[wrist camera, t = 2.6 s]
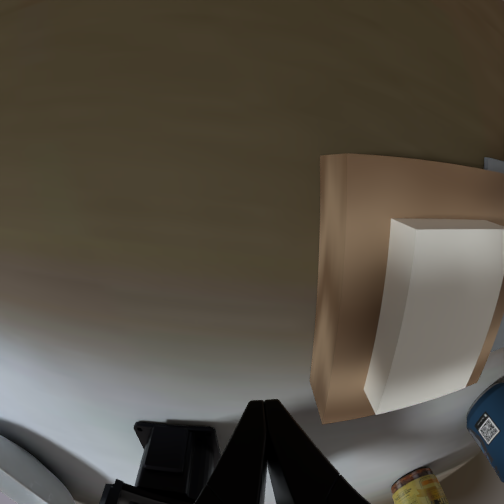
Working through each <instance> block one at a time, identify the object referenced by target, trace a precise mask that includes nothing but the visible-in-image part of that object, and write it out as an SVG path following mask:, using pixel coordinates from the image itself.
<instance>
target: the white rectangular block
mask: <svg viewBox="0 0 504 504" xmlns="http://www.w3.org/2000/svg"><path fill="white" fill-rule="evenodd" d="M503 276H504V226H501V225H498V224H495V223H493V222H490V221H487V220H469V219H404V218H391V226H390V239H389V250H388V260H387V268H386V277H385V284H384V291H383V298H382V304H381V310H380V316H379V322H378V327H377V333H376V338H375V343H374V348H373V352H372V357H371V361H370V366H369V370H368V374H367V378H366V382H365V386H364V391H365V393H366V395H367V398H368V400H369V402H370V404H371V406H372V408H373V410H374V412H375V414H376V415H378V414H382V413H386V412H390V411H394V410H398V409H402V408H405V407H409V406H412V405H416V404H419V403H423V402H426V401H429V400H432V399H435V398H438V397H441V396H444V395H447V394H450V393H452V392H455V391H458V390H460V389H463V388H465V387H466V385H467V383H468V381H469V379H470V376H471V374H472V372H473V369H474V367H475V365H476V362H477V360H478V357H479V355H480V352H481V350H482V347H483V344H484V341H485V339H486V336H487V333H488V330H489V327H490V324H491V321H492V318H493V314H494V311H495V308H496V304H497V300H498V297H499V293H500V289H501V285H502V281H503Z"/></svg>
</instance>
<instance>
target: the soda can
mask: <svg viewBox="0 0 504 504" xmlns="http://www.w3.org/2000/svg"><path fill="white" fill-rule="evenodd" d="M467 429H468V431H469V432H470V434H471V435H472V437H473V438H474V439H475V441H476V442H477V444H478V445H479V447H480V448H481V450H482V451H483V453H484V454H485V456H486V458H487V459H488V460H489V462H490V464H491V465H492V467H493V468H494V470H495V472H496V473H497V475H498V476H499V478H500V480H501V481H502V482H504V383H500V382H498V383H495V384H493V385H491V386H490V387H489V388H487V389H486V390H485V391H484V392H483V393H482V394H481V395H480V396H479V397H478V398H477V399H476V400H475V402H474V403H473V404H472V406H471V407H470V409H469V411H468V413H467Z"/></svg>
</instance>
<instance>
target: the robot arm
mask: <svg viewBox="0 0 504 504" xmlns="http://www.w3.org/2000/svg"><path fill="white" fill-rule="evenodd" d="M134 430H135V432H136V434H137V436H138V438H139V440H140V442H141V444H142V446H143V448H144V453H143V456H142V460H141V464H140V467H139V471H138V475H137V479H136V483H135V487H134V486H131V485H129V484H126V483H123V481H121V480H118V479H116V481H115V484H106V485H105V488H104V491H103V494H102V497H101V500H100V503H99V504H264V499H265V487H266V475H267V464H268V470H269V474H270V479H271V483H272V487H273V491H274V496H275V500H276V504H371V503H369V502H368V501H367V500H366V499H365V498H363V497H362V496H361V495H360V494H359V493H358V492H357V491H356V490H355V489H354V488H353V487H352V486H351V485H350V484H349V483H348V482H347V481H346V480H345V479H344V477H343V476H342V475H339V474H340V473H339V472H338V471H337V470H336V469H335V468H334V466H333V465H332V464H331V463H330V462H329V461H328V459H327V458H326V457H325V456H324V455H323V454H322V452H321V451H320V450H319V449H318V448H317V447H316V445H315V444H314V443H313V442H312V441H311V439H310V438H309V437H308V436H307V435H306V433H305V432H304V431H303V430H302V428H301V427H300V426H299V425H298V424H297V422H296V421H295V420H294V419H293V417H292V416H291V415H290V414H289V412H288V411H287V410H286V408H285V407H284V406H283V405H282V403H281V402H280V401H279V400H278V399H271V400H265V401H263V400H253V401H250V402H249V403H248V405H247V407H246V409H245V411H244V413H243V415H242V417H241V419H240V421H239V423H238V425H237V427H236V429H235V431H234V433H233V435H232V437H231V438H230V440H229V442H228V444H227V446H226V448H225V450H224V452H223V454H222V456H221V455H220V451H219V446H218V441H217V436H216V431H215V429H214V428H212V427H196V426H176V425H163V424H152V423H143V422H136V423H135V425H134Z"/></svg>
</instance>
